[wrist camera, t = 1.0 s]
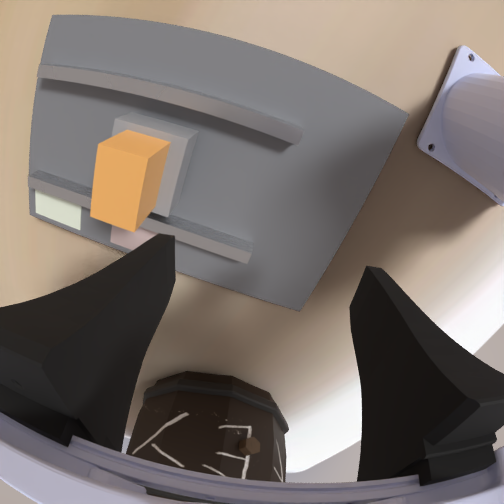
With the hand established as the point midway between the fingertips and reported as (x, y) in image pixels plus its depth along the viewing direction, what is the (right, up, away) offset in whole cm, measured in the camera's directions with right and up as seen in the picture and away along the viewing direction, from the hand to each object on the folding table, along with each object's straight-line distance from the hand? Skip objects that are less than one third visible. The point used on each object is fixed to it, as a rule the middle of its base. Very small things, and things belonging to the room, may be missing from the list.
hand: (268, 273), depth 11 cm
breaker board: (-5, +7, +7) cm, 11 cm away
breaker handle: (-6, +6, +5) cm, 10 cm away
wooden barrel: (-5, -18, +24) cm, 30 cm away
